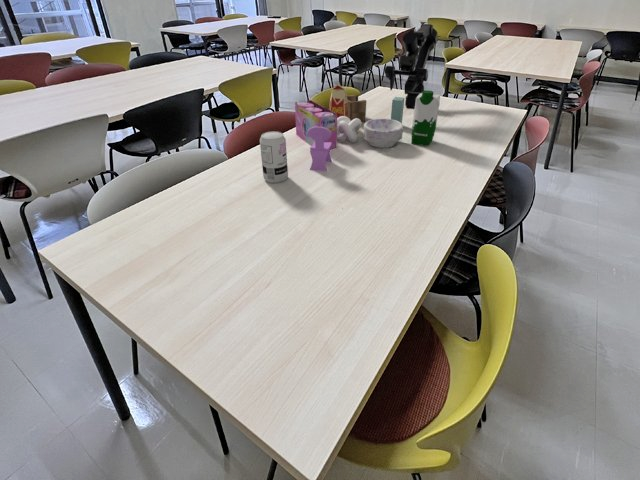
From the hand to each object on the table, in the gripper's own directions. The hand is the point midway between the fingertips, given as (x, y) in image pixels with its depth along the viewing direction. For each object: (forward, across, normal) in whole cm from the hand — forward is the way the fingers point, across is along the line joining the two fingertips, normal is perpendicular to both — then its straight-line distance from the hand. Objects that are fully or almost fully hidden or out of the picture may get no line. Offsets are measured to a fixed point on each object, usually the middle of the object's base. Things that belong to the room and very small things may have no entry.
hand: (400, 90), depth 172 cm
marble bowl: (+31, +3, -13) cm, 33 cm away
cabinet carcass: (+14, -20, +4) cm, 25 cm away
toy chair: (+50, -10, -34) cm, 62 cm away
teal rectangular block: (+15, +2, +3) cm, 16 cm away
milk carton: (+24, -21, -6) cm, 32 cm away
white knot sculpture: (+32, -12, -14) cm, 37 cm away
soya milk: (+25, +17, -7) cm, 31 cm away
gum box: (+36, -23, -19) cm, 47 cm away
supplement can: (+61, -20, -46) cm, 79 cm away
